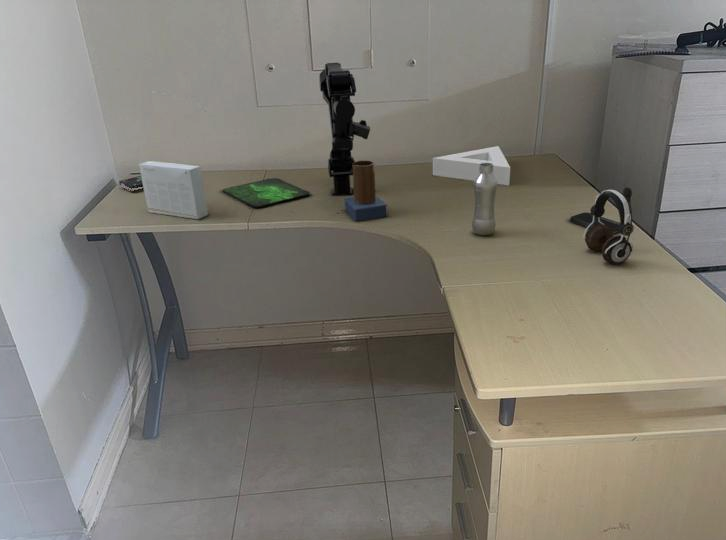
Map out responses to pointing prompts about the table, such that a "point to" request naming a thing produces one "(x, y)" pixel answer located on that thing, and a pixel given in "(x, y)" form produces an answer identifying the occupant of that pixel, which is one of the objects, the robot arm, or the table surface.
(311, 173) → the table surface
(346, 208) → the box
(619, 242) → the headset
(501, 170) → the triangle block
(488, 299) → the table surface
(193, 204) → the skincare box
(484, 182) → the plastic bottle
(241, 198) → the mouse mat
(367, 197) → the brown wooden cylinder
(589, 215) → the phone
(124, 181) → the disk drive
